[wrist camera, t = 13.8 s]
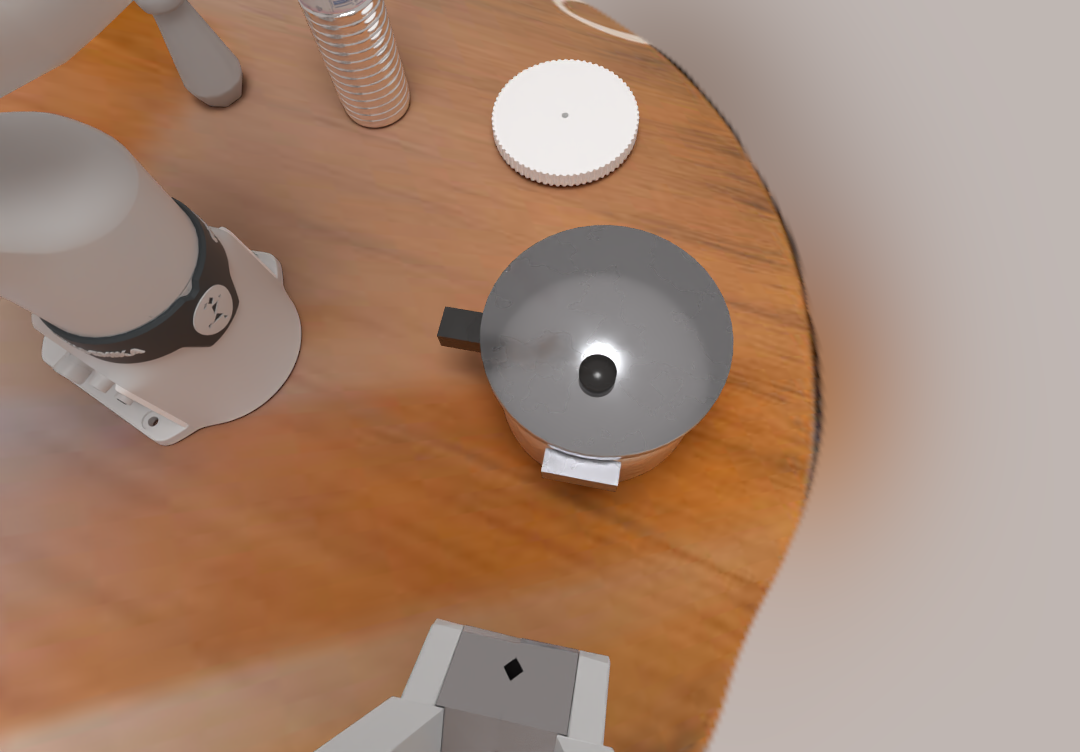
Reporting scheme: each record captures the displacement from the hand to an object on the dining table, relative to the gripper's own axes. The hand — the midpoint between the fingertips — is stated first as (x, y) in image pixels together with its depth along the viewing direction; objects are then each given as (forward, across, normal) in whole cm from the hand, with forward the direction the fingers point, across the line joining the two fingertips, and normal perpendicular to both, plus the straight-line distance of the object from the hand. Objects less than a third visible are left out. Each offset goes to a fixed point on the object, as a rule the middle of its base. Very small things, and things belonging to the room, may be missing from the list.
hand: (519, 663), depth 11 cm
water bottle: (+60, +27, -4) cm, 66 cm away
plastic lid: (+60, +8, -4) cm, 61 cm away
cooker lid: (+34, 0, +7) cm, 35 cm away
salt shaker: (+59, +43, -3) cm, 74 cm away
